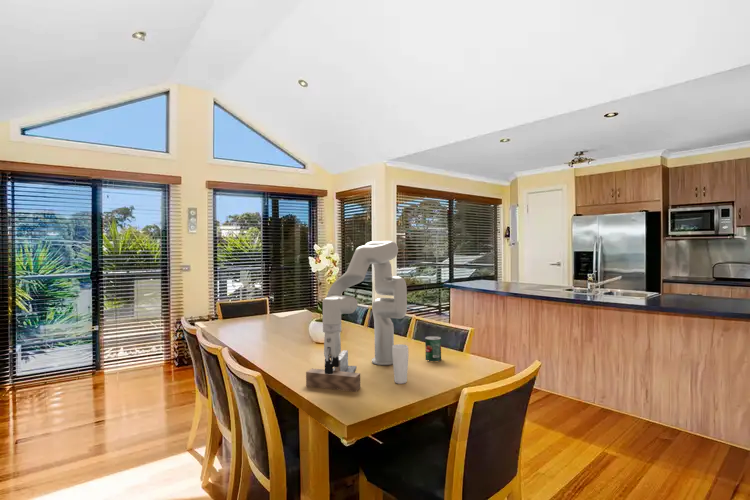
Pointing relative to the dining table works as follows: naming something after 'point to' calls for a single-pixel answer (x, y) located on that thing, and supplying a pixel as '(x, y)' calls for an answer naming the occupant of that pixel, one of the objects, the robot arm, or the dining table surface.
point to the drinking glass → (400, 363)
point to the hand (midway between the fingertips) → (331, 370)
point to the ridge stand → (344, 363)
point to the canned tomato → (433, 348)
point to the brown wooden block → (333, 380)
